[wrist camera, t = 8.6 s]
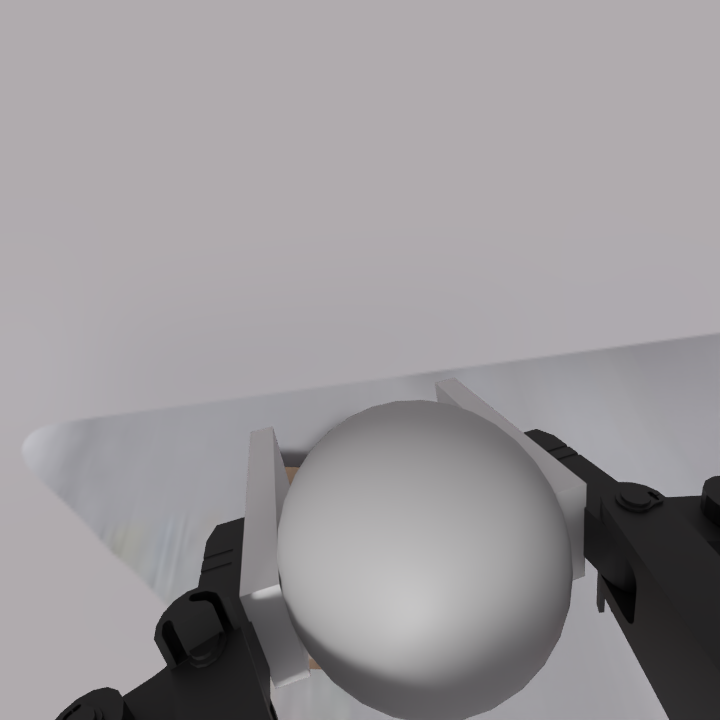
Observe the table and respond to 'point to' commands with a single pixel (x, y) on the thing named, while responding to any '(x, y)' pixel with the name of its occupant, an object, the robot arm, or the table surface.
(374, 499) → the lightbulb
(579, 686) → the table surface
